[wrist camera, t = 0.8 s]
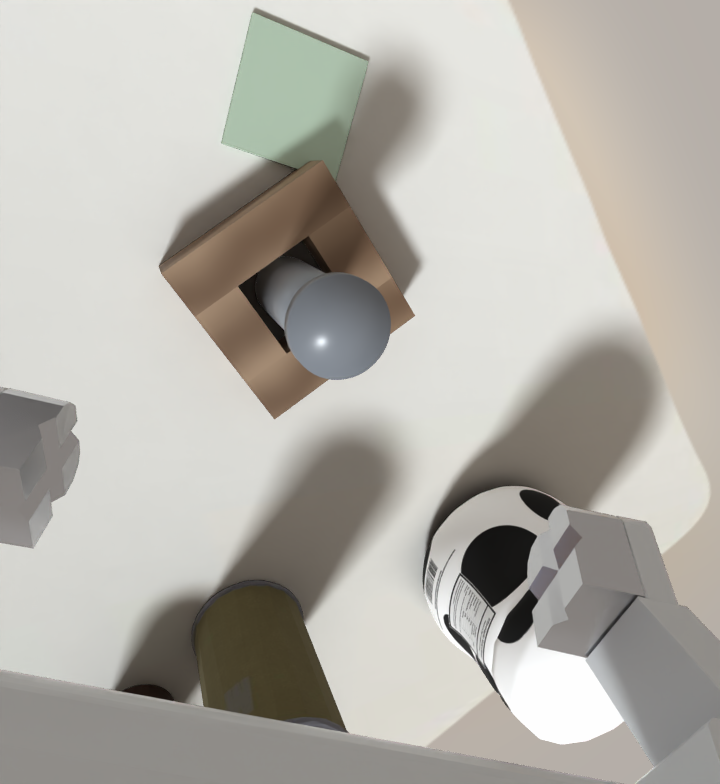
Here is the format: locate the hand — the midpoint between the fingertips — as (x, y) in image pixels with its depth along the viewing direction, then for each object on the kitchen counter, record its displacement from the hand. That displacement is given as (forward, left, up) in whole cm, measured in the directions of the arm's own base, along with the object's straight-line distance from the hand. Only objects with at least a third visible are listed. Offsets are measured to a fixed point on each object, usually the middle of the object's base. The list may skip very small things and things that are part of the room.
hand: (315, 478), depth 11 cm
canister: (+33, +15, -42) cm, 56 cm away
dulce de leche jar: (+22, +38, -42) cm, 61 cm away
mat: (-12, +7, -42) cm, 44 cm away
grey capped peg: (+1, +10, -42) cm, 43 cm away
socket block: (+1, +10, -42) cm, 43 cm away
